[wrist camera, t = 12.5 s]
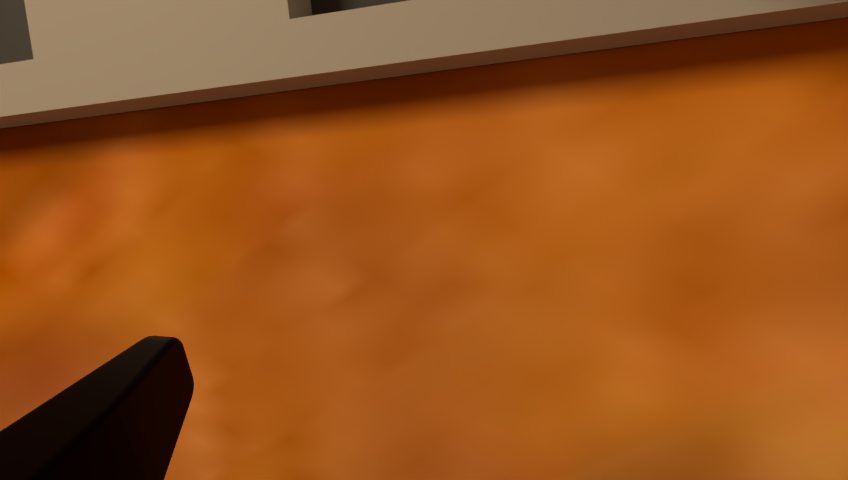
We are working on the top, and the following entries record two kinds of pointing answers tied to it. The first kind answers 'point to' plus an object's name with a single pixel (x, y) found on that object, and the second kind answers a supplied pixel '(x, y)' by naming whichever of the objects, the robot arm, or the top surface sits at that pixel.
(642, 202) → the top surface
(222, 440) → the top surface
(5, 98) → the board
